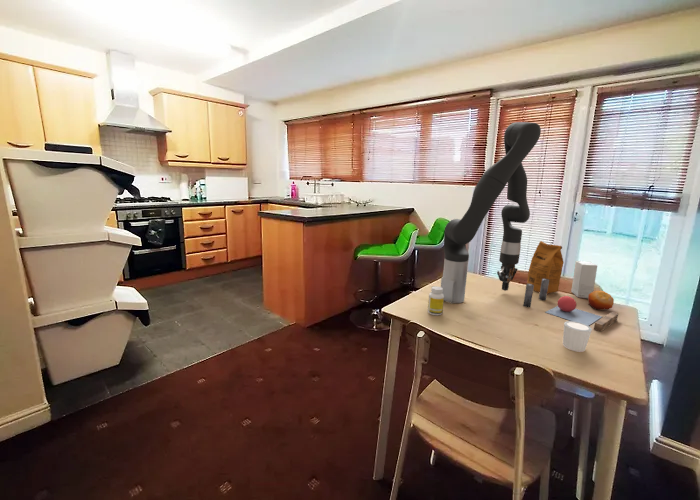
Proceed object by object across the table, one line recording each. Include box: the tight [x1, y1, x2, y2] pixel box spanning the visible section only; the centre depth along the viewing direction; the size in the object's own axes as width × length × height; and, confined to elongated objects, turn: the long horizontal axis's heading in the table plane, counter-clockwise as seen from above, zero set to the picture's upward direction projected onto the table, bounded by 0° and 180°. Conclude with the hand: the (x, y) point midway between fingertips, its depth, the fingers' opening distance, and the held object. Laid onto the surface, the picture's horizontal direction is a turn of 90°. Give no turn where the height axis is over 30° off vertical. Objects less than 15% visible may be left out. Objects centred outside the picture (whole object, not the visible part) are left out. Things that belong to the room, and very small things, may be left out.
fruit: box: [587, 290, 615, 311], centre depth 127 cm, size 8×8×8 cm
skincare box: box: [570, 260, 598, 299], centre depth 140 cm, size 8×6×15 cm
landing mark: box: [544, 305, 603, 327], centre depth 121 cm, size 14×14×1 cm
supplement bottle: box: [427, 286, 445, 316], centre depth 119 cm, size 5×5×10 cm
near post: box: [522, 283, 534, 308], centre depth 127 cm, size 3×3×9 cm
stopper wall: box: [593, 311, 619, 332], centre depth 113 cm, size 16×2×2 cm, turn 126°
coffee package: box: [526, 240, 564, 295], centre depth 145 cm, size 10×12×22 cm
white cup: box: [562, 320, 593, 353], centre depth 97 cm, size 7×7×7 cm
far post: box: [538, 278, 549, 302], centre depth 135 cm, size 3×3×9 cm
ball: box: [557, 295, 577, 312], centre depth 123 cm, size 6×6×6 cm
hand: (504, 289), depth 142 cm, fingers closed
